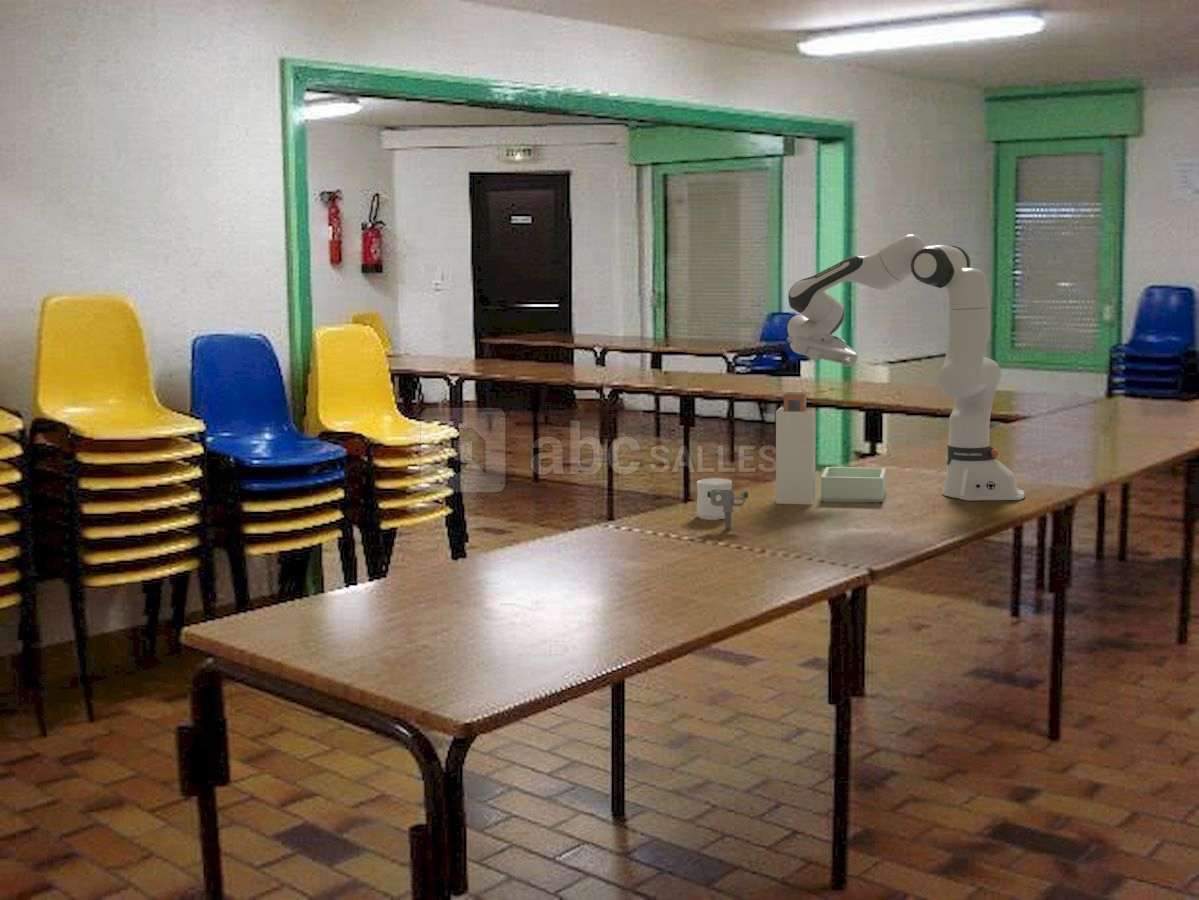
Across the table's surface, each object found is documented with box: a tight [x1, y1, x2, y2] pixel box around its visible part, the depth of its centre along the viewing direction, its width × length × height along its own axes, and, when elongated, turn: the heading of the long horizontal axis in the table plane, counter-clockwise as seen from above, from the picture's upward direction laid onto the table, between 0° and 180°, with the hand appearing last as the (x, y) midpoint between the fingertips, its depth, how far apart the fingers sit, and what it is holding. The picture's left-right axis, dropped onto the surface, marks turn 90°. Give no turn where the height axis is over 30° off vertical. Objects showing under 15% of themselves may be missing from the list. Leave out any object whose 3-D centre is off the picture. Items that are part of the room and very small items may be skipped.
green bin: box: [820, 466, 887, 503], centre depth 377 cm, size 17×17×7 cm
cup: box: [696, 477, 733, 521], centre depth 354 cm, size 10×10×10 cm
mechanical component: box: [707, 489, 749, 530], centre depth 338 cm, size 3×10×10 cm, turn 79°
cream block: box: [775, 406, 816, 505], centre depth 371 cm, size 10×9×26 cm
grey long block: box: [783, 391, 807, 412], centre depth 373 cm, size 6×18×5 cm, turn 165°
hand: (833, 360), depth 379 cm, fingers open, 8 cm apart
